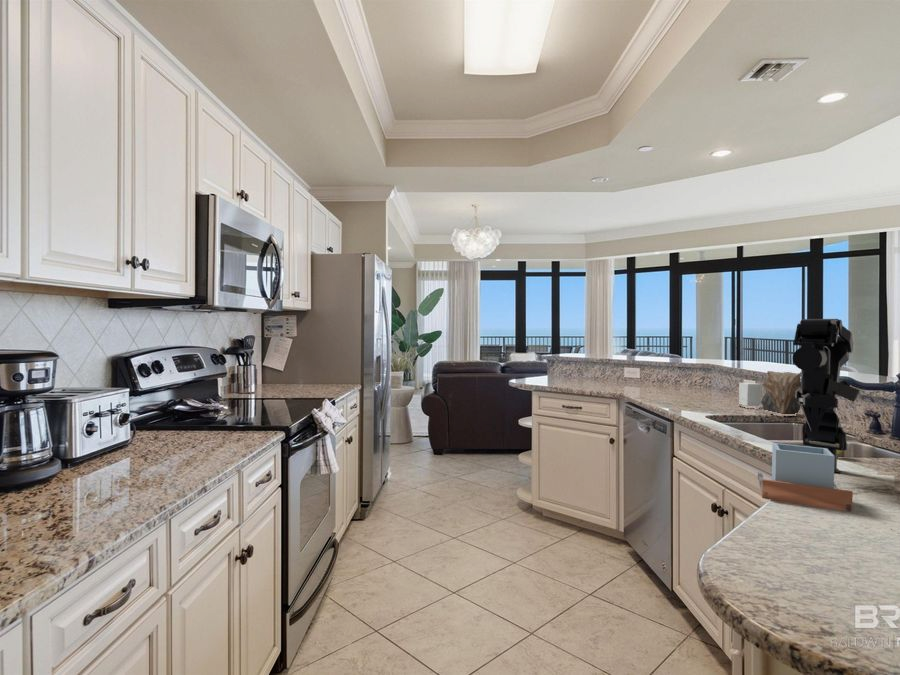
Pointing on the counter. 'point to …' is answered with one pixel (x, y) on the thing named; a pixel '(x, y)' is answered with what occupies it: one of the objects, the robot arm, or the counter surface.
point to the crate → (803, 465)
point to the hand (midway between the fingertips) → (814, 431)
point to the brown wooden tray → (806, 494)
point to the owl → (781, 392)
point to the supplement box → (750, 394)
